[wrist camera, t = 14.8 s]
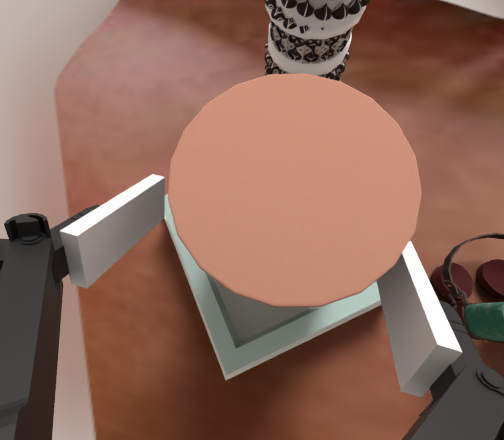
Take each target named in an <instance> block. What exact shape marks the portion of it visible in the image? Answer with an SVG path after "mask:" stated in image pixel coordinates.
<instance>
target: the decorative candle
mask: <svg viewBox="0 0 504 440" xmlns="http://www.w3.org/2000/svg"><path fill="white" fill-rule="evenodd" d="M369 2H370V0H265V4H266V9H267V11H268V13H269V16H270V24H269V35H268V42H266V44H265V50H266V51H267V53H266V54H265V62H266V63H267V65H266V66H265V76H266V75H270V74H299V73H306V74H310V75H315V76H319V77H323V78H328V79H332V80H337V81H340V82H341V80H340V79H341V74H340V73H342V72H344V70H345V61H347V60H348V59H349V53H348V48H349V45H350V42H351V31H352V29H353V27H354V25H356V24H357V23H358V22H359V20H360V18H361V16H362V14H363V12H364V10H365V8H366V5H368V3H369Z"/></svg>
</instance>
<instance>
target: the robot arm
mask: <svg viewBox="0 0 504 440" xmlns="http://www.w3.org/2000/svg"><path fill="white" fill-rule="evenodd" d="M164 218H165V177H162V176H158V175H154V174H152V175H151V176H149V177H147V178H146V179H144V180H142V181H141V182H139V183H137V184H136V185H134V186H132V187H131V188H129V189H127V190H126V191H124V192H123V193H121V194H119V195H118V196H116V197H114V198H113V199H111V200H109V201H108V202H106V203H104V204H103V205H101V206H100V205H96V206H93V207H89V208H86V209H84V210H83V211H81V212H79V213H78V214H76V215H74V216H72V217H71V219H67V220H66V221H64V222H62V223H61V224H59V225H57V226H55V227H54V228H52V229H49V225H48V221H47V218H46V217H45V216H44V215H42V214H37V213H28V214H21V215H18V216H14V217H12V218H10V219H9V220H7V221H6V222H5V223H4V226H5V229H6V231H7V234H8V237H9V239H0V440H52V429H53V414H54V402H55V389H56V375H57V362H58V348H59V333H60V321H61V308H62V294H63V282H62V278H64V277H65V276H66V275H68V274H69V275H70V280H71V284H74V285H77V286H80V287H83V288H86V289H87V288H88V287H89V286H91V285H92V284H93V283H94V282H95V281H96V280H97V279H98V278H99V277H100V276H101V275H103V274H104V273H105V272H106V271H107V270H108V269H109V268H110V267H111V266H112V265H113V264H115V263H116V262H117V261H118V260H119V259H120V258H121V257H122V256H123V255H124V254H126V253H127V252H128V251H129V250H130V249H131V248H132V247H133V246H134V245H135V244H136V243H138V242H139V241H140V240H141V239H142V238H143V237H144V236H145V235H146V234H147V233H148V232H150V231H151V230H152V229H153V228H154V227H155V226H156V225H157V224H158V223H159V222H160V221H162V220H163V219H164ZM376 281H377V285H378V290H379V295H380V299H381V304H382V308H383V313H384V318H385V322H386V327H387V331H388V336H389V340H390V345H391V350H392V354H393V359H394V363H395V368H396V372H397V377H398V382H399V386H400V391H402V392H406V393H409V394H412V395H415V396H418V397H421V398H422V397H423V396H424V395H425V394H426V393H427V392H428V390H429V389H430V390H431V393H432V397H433V401H432V402H431V403H430V404H429V405H428V407H427V408H426V409H425V410H424V411H423V412H422V413H421V414H420V415H419V416H420V417H419V418H418V420H417V421H416V422H415V424H414V425H413V426H412V427H411V429H410V430H409V431H408V433H407V434H406V435H405V436H404V438H403V439H402V440H504V378H503V377H502V376H501V375H499V374H498V373H497V372H496V371H495V370H493V369H491V368H490V367H488V366H486V365H484V363H483V361H482V359H481V357H480V355H479V353H478V351H477V350H476V348H475V346H474V344H473V342H472V340H471V338H470V336H469V335H468V332H467V330H466V328H465V326H463V323H462V321H461V319H460V317H459V315H458V313H457V312H456V311H455V310H454V309H453V308H452V307H451V306H450V305H449V304H448V303H446V302H442V301H439V300H438V298H437V296H436V294H435V292H434V290H433V288H432V285H431V283H430V281H429V279H428V277H427V275H426V272H425V270H424V268H423V266H422V264H421V262H420V260H419V257H418V255H417V253H416V251H415V249H414V247H413V245H412V242H411V241H409V242H408V244H407V245H406V247H405V249H404V250H403V252H402V254H401V255H400V257H399V259H398V260H397V262H396V264H395V265H394V267H392V268H391V269H390V270H389V271H388V272H386V273H385V274H384V275H383V276H381V277H380V278H379V279H378V280H376Z"/></svg>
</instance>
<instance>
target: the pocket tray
mask: <svg viewBox="0 0 504 440" xmlns="http://www.w3.org/2000/svg"><path fill="white" fill-rule="evenodd" d="M164 219H165V222H166V224H167V227H168V229H169V232H170V235H171V237H172V240H173V243H174V245H175V248H176V251H177V253H178V256H179V259H180V261H181V264H182V266H183V269H184V272H185V274H186V277H187V280H188V282H189V285H190V288H191V290H192V293H193V295H194V298H195V301H196V303H197V306H198V309H199V311H200V314H201V317H202V319H203V322H204V324H205V327H206V330H207V332H208V335H209V338H210V340H211V343H212V346H213V348H214V351H215V353H216V356H217V359H218V361H219V364H220V367H221V369H222V372H223V375H224V377H225V380H228V379H230V378H232V377H234V376H236V375H238V374H240V373H242V372H244V371H246V370H248V369H251V368H253V367H255V366H257V365H259V364H261V363H263V362H265V361H267V360H269V359H271V358H273V357H275V356H277V355H279V354H281V353H283V352H285V351H287V350H290V349H292V348H294V347H296V346H298V345H300V344H302V343H304V342H306V341H308V340H310V339H312V338H314V337H316V336H318V335H320V334H322V333H324V332H326V331H329V330H331V329H333V328H335V327H337V326H339V325H341V324H343V323H345V322H347V321H349V320H351V319H353V318H355V317H357V316H359V315H361V314H363V313H365V312H368V311H370V310H372V309H374V308H376V307H378V306H380V305H382V304H381V299H380V295H379V290H378V285H377V281H375V282H374V283H373V284H371V285H370V286H369V287H368V288H366V289H365V290H364V291H363V292H361V293H359V294H356V295H353V296H350V297H348V298H345V299H342V300H339V301H336V302H333V303H330V304H327V305H325V306H322V307H273V306H270V305H267V304H264V303H261V302H258V301H255V300H252V299H249V298H246V297H243V296H240V295H237V294H234V293H232V292H231V291H229V290H228V289H227V288H225V287H224V286H223V285H221V284H220V283H219V282H218V281H216V280H215V279H214V278H212V277H211V276H210V275H208V274H207V273H206V272H204V271H203V270H202V269H200V268H199V266H198V265H197V263H196V262H195V260H194V259H193V257H192V256H191V254H190V253H189V251H188V250H187V249H186V247H185V246H184V244H183V243H182V241H181V240H180V238H179V237H178V235H177V232H176V228H175V224H174V220H173V217H172V213H171V209H170V205H169V201H168V194H167V195H165V218H164Z"/></svg>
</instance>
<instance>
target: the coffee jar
mask: <svg viewBox="0 0 504 440" xmlns="http://www.w3.org/2000/svg"><path fill="white" fill-rule="evenodd" d="M421 195H422V190H421V185H420V179H419V173H418V167H417V162H416V156H415V154H414V152H413V150H412V149H411V147H410V145H409V143H408V141H407V139H406V138H405V136H404V134H403V132H402V130H401V128H400V127H399V125H398V123H397V122H396V121H395V120H394V119H393V118H392V117H391V116H390V115H389V114H387V113H386V112H385V111H384V110H383V109H382V108H381V107H380V106H379V105H378V104H377V103H376V102H375V101H374V100H373V99H372V98H370V97H369V96H367V95H365V94H363V93H361V92H359V91H357V90H355V89H353V88H352V87H350V86H348V85H346V84H344V83H342V82H340V81H337V80H332V79H328V78H323V77H319V76H315V75H310V74H306V73H299V74H270V75H266V76H263V77H260V78H257V79H253V80H250V81H247V82H243V83H240V84H237V85H235V86H233V87H232V88H230V89H229V90H227V91H226V92H224V93H222V94H221V95H219V96H218V97H216V98H215V99H213V100H211V101H210V102H208V103H207V104H206V105H205V106H204V107H203V109H202V110H201V111H200V112H199V113H198V114H197V115H196V117H195V118H194V119H193V120H192V121H191V122H190V124H189V125H188V126H187V127H186V128H185V129H184V131H183V134H182V136H181V138H180V141H179V143H178V145H177V148H176V150H175V152H174V155H173V157H172V159H171V163H170V176H169V188H168V201H169V205H170V209H171V213H172V217H173V220H174V224H175V228H176V232H177V235H178V237H179V238H180V240H181V241H182V243H183V244H184V246H185V247H186V249H187V250H188V251H189V253H190V254H191V256H192V257H193V259H194V260H195V262H196V263H197V265H198V266H199V268H200V269H202V270H203V271H204V272H206V273H207V274H208V275H210V276H211V277H212V278H214V279H215V280H216V281H218V282H219V283H220V284H221V285H223V286H224V287H225V288H227V289H228V290H229V291H231V292H232V293H234V294H237V295H240V296H243V297H246V298H249V299H252V300H255V301H258V302H261V303H264V304H267V305H270V306H273V307H322V306H325V305H327V304H330V303H333V302H336V301H339V300H342V299H345V298H348V297H350V296H353V295H356V294H359V293H361V292H363V291H364V290H365V289H366V288H368V287H369V286H370V285H371V284H373V283H374V282H375V281H376V280H378V279H379V278H380V277H381V276H383V275H384V274H385V273H386V272H388V271H389V270H390V269H391V268H392V267H394V265H395V264H396V262H397V260H398V259H399V257H400V255H401V254H402V252H403V250H404V249H405V247H406V245H407V244H408V242H409V240H410V239H411V237H412V235H413V233H414V232H415V229H416V223H417V217H418V212H419V206H420V200H421Z"/></svg>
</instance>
